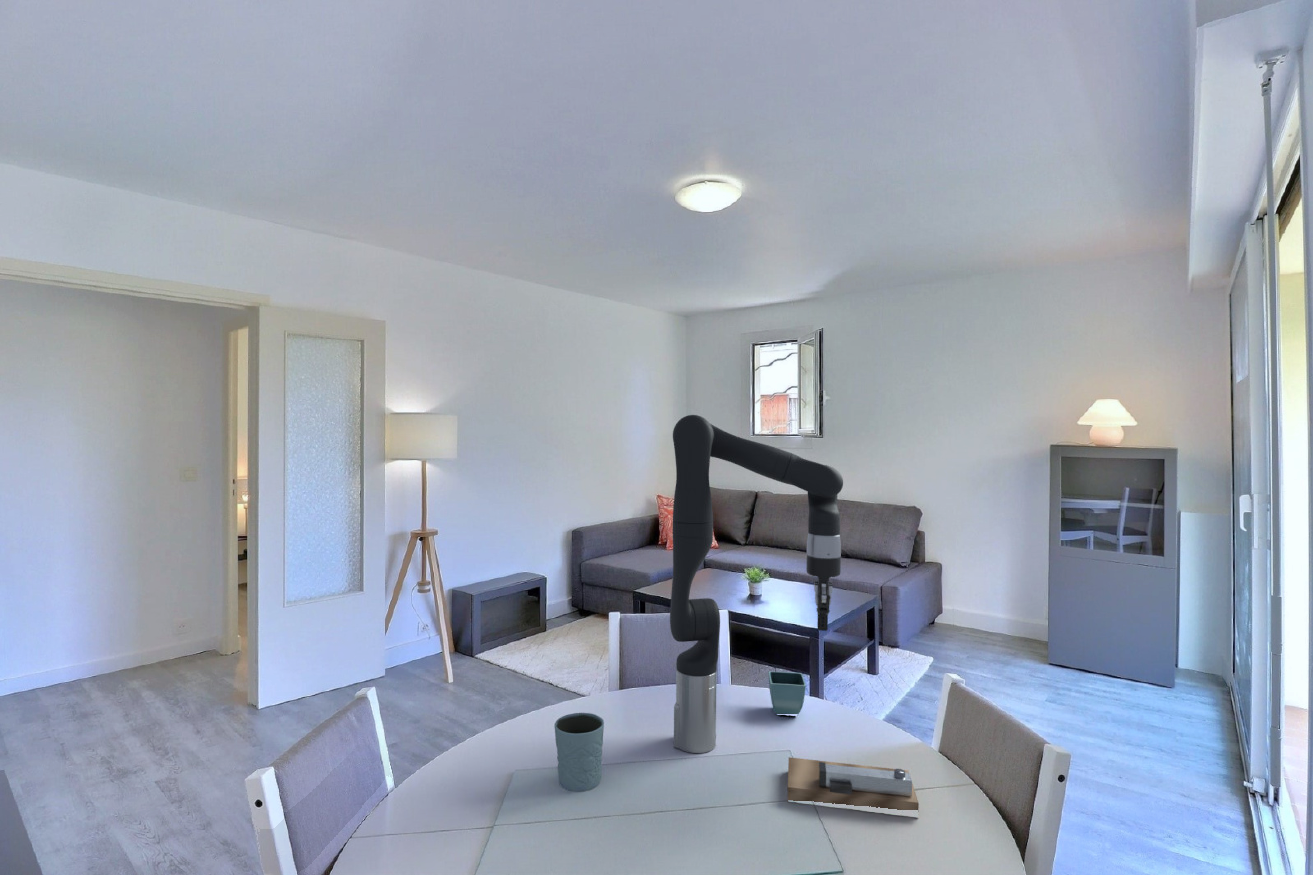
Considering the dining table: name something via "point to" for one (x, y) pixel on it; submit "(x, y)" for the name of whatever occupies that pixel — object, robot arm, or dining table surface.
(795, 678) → the flower pot
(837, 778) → the hinged leg
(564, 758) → the embossed green cup
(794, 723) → the dining table surface
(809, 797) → the wooden board with bar
